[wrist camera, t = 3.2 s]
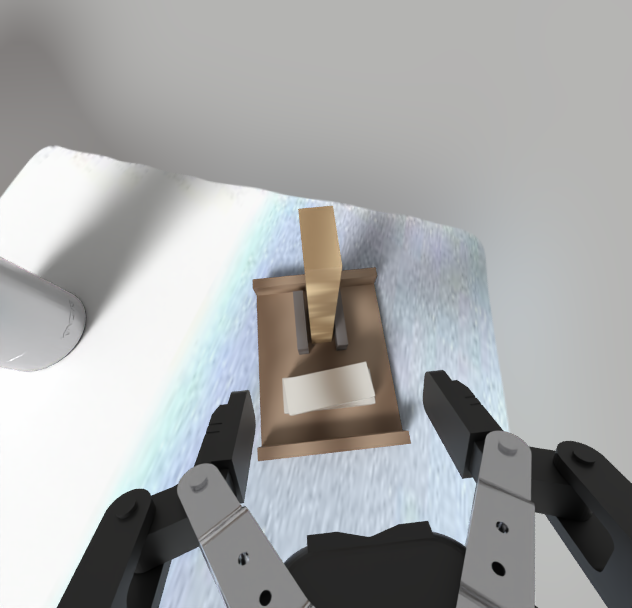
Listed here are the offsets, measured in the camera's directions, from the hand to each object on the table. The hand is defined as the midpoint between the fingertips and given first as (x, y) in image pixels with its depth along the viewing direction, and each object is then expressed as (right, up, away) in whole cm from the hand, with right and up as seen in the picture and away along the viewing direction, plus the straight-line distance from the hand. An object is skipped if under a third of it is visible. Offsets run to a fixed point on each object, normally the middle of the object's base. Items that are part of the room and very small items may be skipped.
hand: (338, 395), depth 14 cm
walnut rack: (0, -2, +17) cm, 18 cm away
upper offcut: (0, -4, +13) cm, 13 cm away
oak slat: (-1, +2, +18) cm, 18 cm away
